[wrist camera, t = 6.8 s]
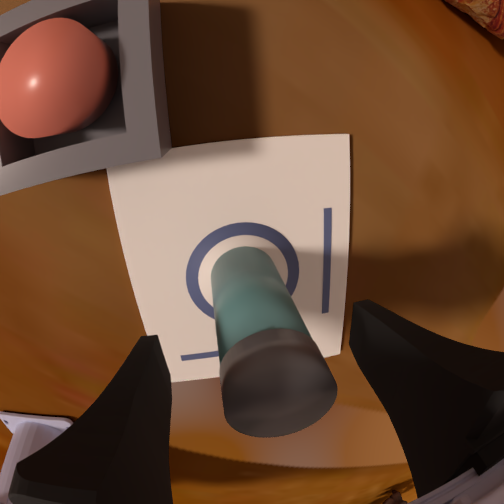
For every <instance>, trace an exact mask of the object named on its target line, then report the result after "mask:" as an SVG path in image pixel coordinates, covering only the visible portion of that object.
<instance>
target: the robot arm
mask: <svg viewBox="0 0 504 504" xmlns="http://www.w3.org/2000/svg"><path fill="white" fill-rule="evenodd" d="M349 346H350V348H351V350H352V353H353V355H354V357H355V359H356V362H357V364H358V366H359V367H360V369H361V371H362V372H363V374H364V376H365V377H366V379H367V380H368V382H369V384H370V385H371V387H372V388H373V390H374V392H375V393H376V395H377V396H378V398H379V400H380V401H381V403H382V404H383V406H384V408H385V410H386V411H387V413H388V415H389V417H390V419H391V422H392V424H393V426H394V428H395V430H396V433H397V435H398V438H399V440H400V443H401V445H402V447H403V450H404V453H405V456H406V459H407V462H408V465H409V468H410V471H411V474H412V478H413V481H414V485H415V489H416V493H417V497H418V499H416V500H414V501H412V502H410V503H408V504H504V352H498V351H492V350H487V349H482V348H478V347H474V346H470V345H466V344H463V343H460V342H457V341H454V340H451V339H448V338H446V337H443V336H440V335H438V334H436V333H433V332H431V331H429V330H427V329H425V328H422V327H420V326H418V325H416V324H414V323H412V322H410V321H408V320H406V319H404V318H403V317H401V316H399V315H397V314H395V313H393V312H391V311H390V310H388V309H386V308H384V307H382V306H380V305H378V304H376V303H374V302H372V301H370V300H363V301H359V302H354V304H353V314H352V323H351V331H350V340H349ZM171 391H172V390H171V375H170V372H169V369H168V366H167V363H166V360H165V357H164V354H163V351H162V347H161V344H160V341H159V338H158V335H149V336H141V337H140V339H139V340H138V342H137V343H136V345H135V346H134V348H133V349H132V351H131V352H130V354H129V355H128V357H127V359H126V360H125V362H124V363H123V365H122V366H121V367H120V369H119V370H118V372H117V373H116V375H115V376H114V378H113V379H112V380H111V382H110V383H109V384H108V386H107V387H106V388H105V390H104V391H103V392H102V393H101V395H100V396H99V397H98V398H97V400H96V401H95V402H94V403H93V404H92V405H91V406H90V407H89V408H88V409H87V411H86V412H85V413H84V414H83V415H82V416H81V417H79V418H78V419H77V420H76V421H75V422H74V423H73V422H72V421H71V420H70V419H68V418H61V417H46V416H35V415H25V414H16V413H8V412H0V419H1V420H2V421H3V422H4V424H5V425H6V426H7V427H8V428H9V430H10V431H11V432H12V433H13V437H12V440H11V443H10V445H9V448H8V451H7V454H6V457H5V461H4V464H3V467H2V470H1V474H0V504H173V500H172V491H171V483H170V471H169V435H170V418H171V405H172V392H171Z"/></svg>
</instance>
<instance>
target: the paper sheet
mask: <svg viewBox="0 0 504 504" xmlns="http://www.w3.org/2000/svg"><path fill="white" fill-rule="evenodd" d="M106 169H107V175H108V181H109V187H110V192H111V197H112V203H113V208H114V213H115V217H116V222H117V227H118V231H119V235H120V240H121V244H122V248H123V252H124V256H125V260H126V264H127V268H128V272H129V276H130V279H131V283H132V287H133V290H134V294H135V297H136V301H137V304H138V308H139V311H140V314H141V317H142V321H143V324H144V327H145V330H146V333H147V336H149V335H158V338H159V341H160V344H161V347H162V351H163V354H164V357H165V360H166V363H167V366H168V369H169V372H170V375H171V382H179V381H188V380H197V379H206V378H213V377H220V375H219V369H220V362H219V354H218V345H217V336H216V327H215V317H214V308H213V297H212V287H211V271H212V268H213V266H214V264H215V262H216V261H217V259H218V258H219V257H220V256H221V255H223V254H224V253H225V252H227V251H229V250H231V249H233V248H237V247H243V246H248V247H255V248H258V249H260V250H262V251H264V252H265V253H266V254H268V255H269V256H270V258H271V259H272V261H273V262H274V264H275V266H276V268H277V270H278V272H279V274H280V276H281V278H282V280H283V282H284V284H285V286H286V288H287V290H288V292H289V294H290V296H291V298H292V299H293V301H294V303H295V305H296V307H297V309H298V311H299V313H300V315H301V317H302V319H303V321H304V323H305V325H306V327H307V329H308V331H309V333H310V335H311V337H312V339H313V340H314V341H315V343H316V344H317V346H318V348H319V350H320V352H321V353H322V355H323V357H324V358H325V357H329V356H333V355H337V354H340V349H341V340H342V331H343V321H344V310H345V298H346V285H347V269H348V251H349V224H350V143H349V134H315V135H293V136H276V137H263V138H251V139H240V140H230V141H221V142H212V143H204V144H196V145H189V146H182V147H175V148H171V149H170V150H169V151H168V152H167V153H166V154H165V155H164V156H163V157H162V158H158V159H152V160H146V161H141V162H135V163H130V164H125V165H119V166H114V167H109V168H106Z"/></svg>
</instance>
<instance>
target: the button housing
mask: <svg viewBox="0 0 504 504" xmlns="http://www.w3.org/2000/svg"><path fill="white" fill-rule="evenodd" d="M52 18H68V19H72V20H75V21H77V22H79V23H81V24H82V25H83V26H85V27H86V28H87V29H89V30H90V31H91V32H92V33H94V34H95V35H96V36H98V37H99V38H100V39H101V40H103V41H104V42H105V43H106V44H107V45H108V46H109V47H110V48H111V50H112V51H113V53H114V55H115V57H116V61H117V65H118V82H117V86H116V90H115V93H114V96H113V98H112V100H111V102H110V104H109V105H108V107H107V108H106V110H105V111H104V112H103V113H102V115H101V116H100V117H99V118H98V119H97V120H95V121H94V122H93V123H92V124H90V125H89V126H87V127H85V128H83V129H81V130H79V131H76V132H71V133H66V134H59V135H53V136H47V137H41V138H25V137H21V136H19V135H16V134H14V133H13V132H11V131H10V130H9V129H8V128H7V127H6V126H5V125H4V124H3V123H2V121H1V119H0V195H4V194H7V193H10V192H13V191H17V190H20V189H24V188H27V187H31V186H34V185H38V184H42V183H45V182H49V181H53V180H57V179H61V178H65V177H69V176H73V175H77V174H82V173H86V172H91V171H95V170H100V169H105V168H109V167H114V166H119V165H125V164H130V163H135V162H141V161H146V160H152V159H158V158H162V157H163V156H164V155H165V154H166V153H167V152H168V151H169V150H170V149H171V148H172V143H171V135H170V126H169V117H168V107H167V97H166V86H165V74H164V62H163V48H162V31H161V11H160V0H31V1H29V2H27V3H25V4H23V5H21V6H18V7H16V8H14V9H12V10H10V11H8V12H6V13H4V14H3V15H1V16H0V63H1V60H2V58H3V57H4V55H5V53H6V51H7V50H8V48H9V47H10V46H11V44H12V43H13V42H14V41H15V40H16V39H17V38H18V37H19V36H20V35H21V34H22V33H23V32H24V31H26V30H27V29H28V28H30V27H32V26H33V25H35V24H37V23H39V22H41V21H44V20H47V19H52Z"/></svg>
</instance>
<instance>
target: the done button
mask: <svg viewBox="0 0 504 504" xmlns="http://www.w3.org/2000/svg"><path fill="white" fill-rule="evenodd" d="M117 82H118V65H117V61H116V57H115V55H114V53H113V51H112V50H111V48H110V47H109V46H108V45H107V44H106V43H105V42H104V41H103V40H101V39H100V38H99V37H98V36H96V35H95V34H94V33H92V32H91V31H90V30H89V29H87V28H86V27H85V26H83V25H82V24H81V23H79V22H77V21H75V20H72V19H68V18H52V19H47V20H44V21H41V22H39V23H37V24H35V25H33V26H32V27H30V28H28V29H27V30H26V31H24V32H23V33H22V34H21V35H20V36H19V37H18V38H17V39H16V40H15V41H14V42H13V43H12V44H11V46H10V47H9V48H8V50H7V51H6V53H5V55H4V57H3V58H2V60H1V63H0V119H1V121H2V123H3V124H4V125H5V126H6V127H7V128H8V129H9V130H10V131H11V132H13V133H14V134H16V135H19V136H21V137H25V138H41V137H47V136H53V135H59V134H66V133H71V132H76V131H79V130H81V129H83V128H85V127H87V126H89V125H90V124H92V123H93V122H94V121H95V120H97V119H98V118H99V117H100V116H101V115H102V113H103V112H104V111H105V110H106V108H107V107H108V105H109V104H110V102H111V100H112V98H113V96H114V93H115V90H116V86H117Z"/></svg>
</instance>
